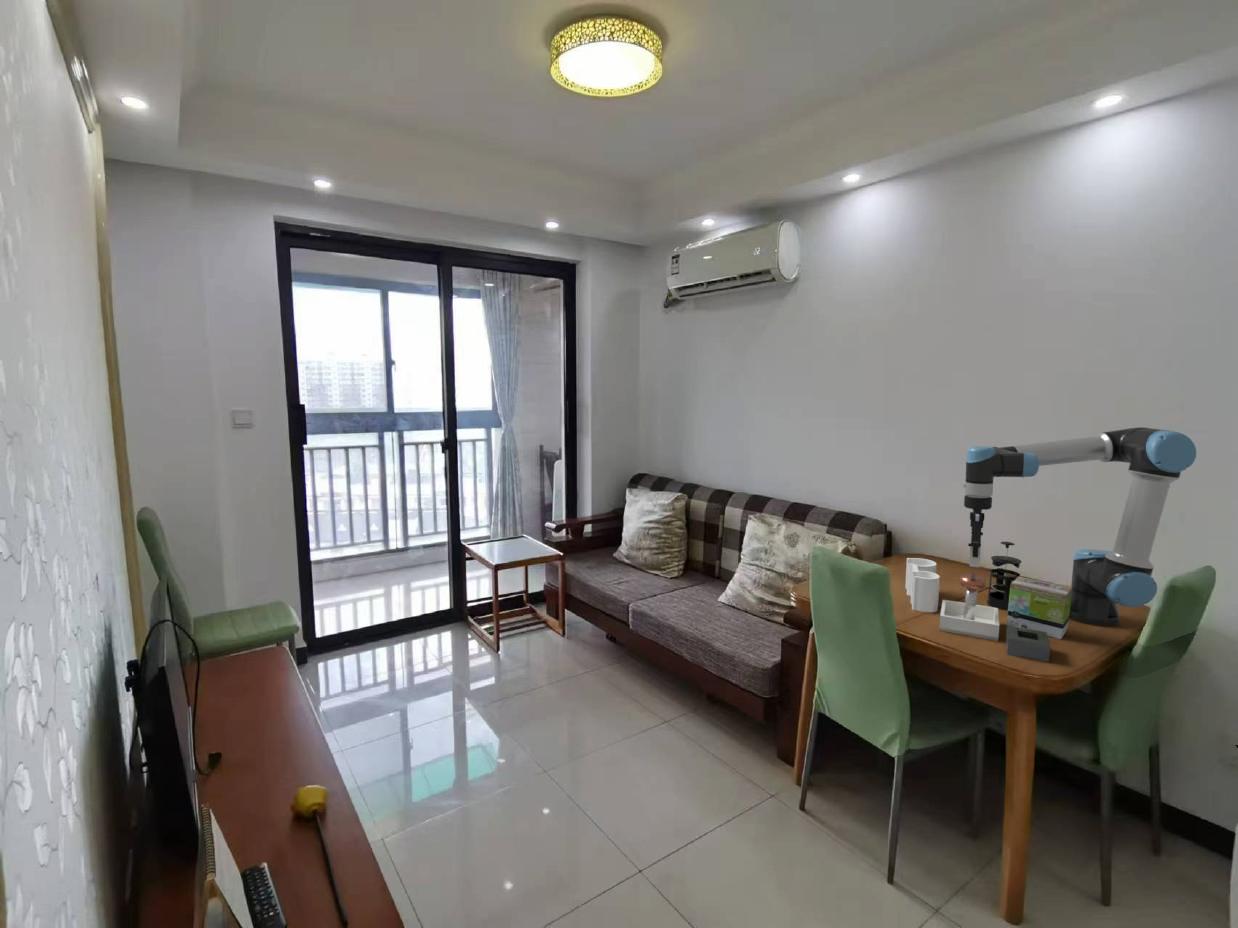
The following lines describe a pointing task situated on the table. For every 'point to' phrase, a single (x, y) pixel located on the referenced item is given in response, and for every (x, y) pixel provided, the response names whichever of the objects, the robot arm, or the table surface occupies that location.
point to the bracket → (922, 584)
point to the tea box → (1039, 606)
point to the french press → (1002, 590)
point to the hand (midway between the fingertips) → (974, 560)
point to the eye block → (1027, 643)
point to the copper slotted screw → (971, 593)
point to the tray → (980, 627)
